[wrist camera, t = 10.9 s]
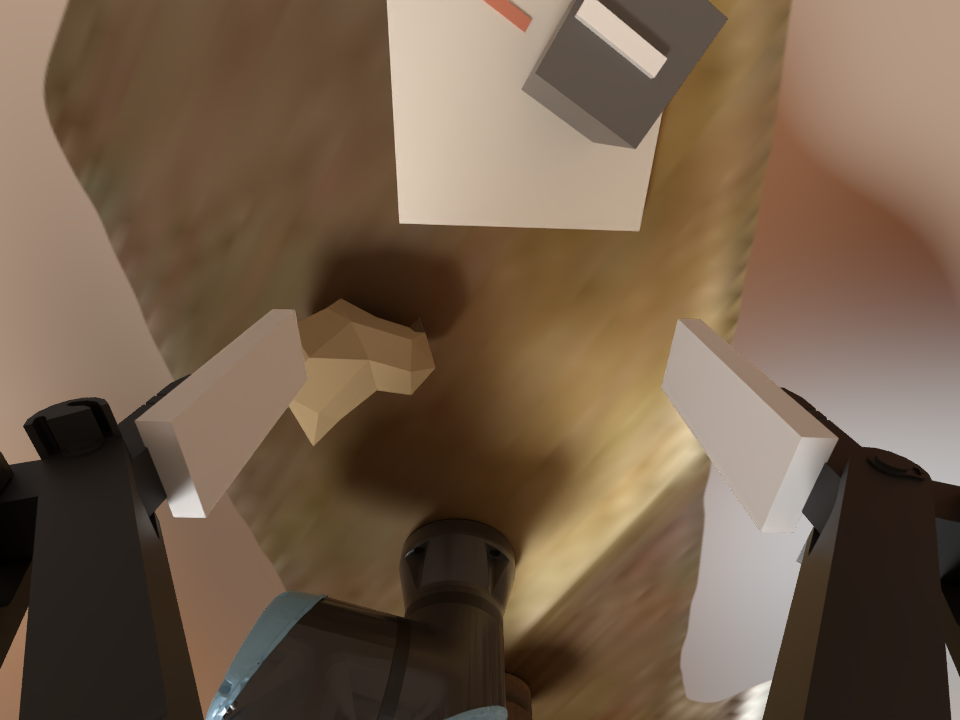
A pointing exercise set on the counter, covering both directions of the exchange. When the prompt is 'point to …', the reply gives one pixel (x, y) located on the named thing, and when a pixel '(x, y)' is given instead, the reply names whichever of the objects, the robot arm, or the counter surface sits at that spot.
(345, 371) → the low-poly potato
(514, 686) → the wooden container
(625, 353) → the counter surface
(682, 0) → the grey block with stripe
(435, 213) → the panel
